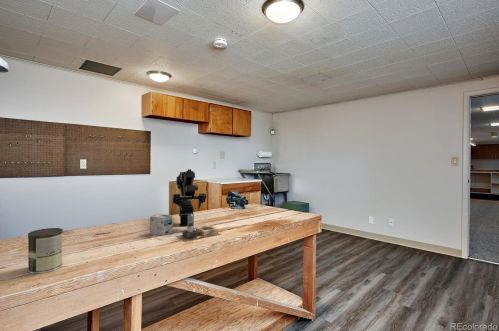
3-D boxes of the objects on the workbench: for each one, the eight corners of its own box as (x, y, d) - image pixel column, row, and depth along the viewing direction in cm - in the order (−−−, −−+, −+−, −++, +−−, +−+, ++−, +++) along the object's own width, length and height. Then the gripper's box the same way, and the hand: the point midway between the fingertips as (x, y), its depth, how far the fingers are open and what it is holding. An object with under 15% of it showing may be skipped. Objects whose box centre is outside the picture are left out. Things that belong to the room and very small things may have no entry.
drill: (186, 238, 133) (186, 215, 133) (187, 236, 136) (187, 213, 136) (193, 237, 133) (193, 215, 133) (194, 236, 137) (194, 213, 136)
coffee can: (20, 274, 91) (20, 235, 91) (41, 263, 101) (41, 227, 101) (51, 273, 92) (51, 235, 92) (68, 262, 102) (68, 227, 102)
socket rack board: (185, 244, 126) (185, 236, 126) (174, 238, 136) (175, 230, 135) (221, 236, 141) (222, 229, 140) (210, 231, 150) (210, 224, 150)
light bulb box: (172, 234, 143) (173, 215, 143) (164, 237, 137) (164, 217, 137) (158, 231, 148) (158, 213, 148) (149, 234, 142) (149, 215, 141)
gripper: (173, 180, 144) (174, 202, 134) (205, 179, 151) (209, 201, 141) (172, 192, 152) (173, 214, 141) (203, 191, 158) (206, 212, 148)
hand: (190, 210), depth 143 cm, fingers open, 9 cm apart
